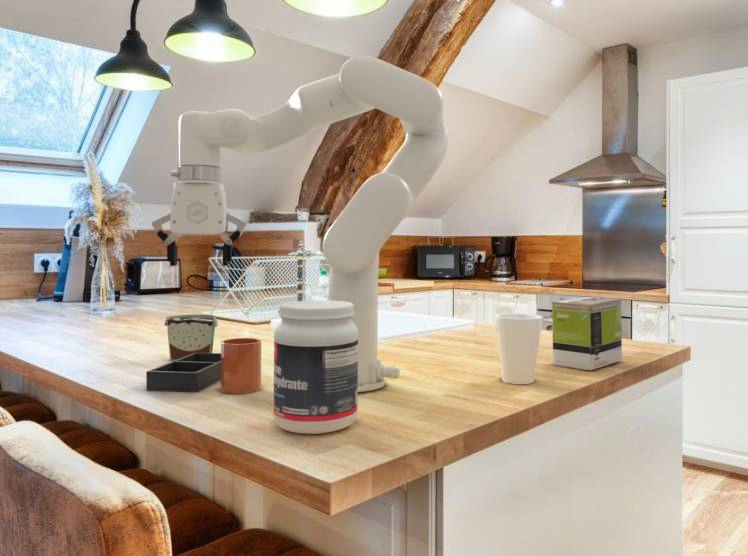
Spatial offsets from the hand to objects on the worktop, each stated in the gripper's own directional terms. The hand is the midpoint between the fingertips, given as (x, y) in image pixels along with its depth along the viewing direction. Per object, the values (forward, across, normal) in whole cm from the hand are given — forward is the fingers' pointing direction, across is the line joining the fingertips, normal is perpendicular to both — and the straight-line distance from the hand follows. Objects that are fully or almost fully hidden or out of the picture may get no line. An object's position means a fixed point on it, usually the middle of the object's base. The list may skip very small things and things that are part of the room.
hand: (199, 265), depth 119 cm
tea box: (+24, +84, +9) cm, 88 cm away
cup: (+23, +8, -5) cm, 25 cm away
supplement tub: (+23, +22, -29) cm, 43 cm away
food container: (+23, -5, +26) cm, 35 cm away
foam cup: (+24, +62, -6) cm, 67 cm away
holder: (+23, -2, +4) cm, 23 cm away
